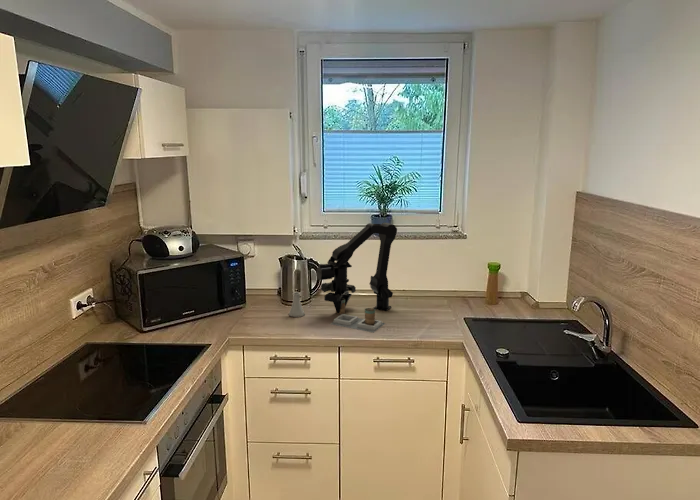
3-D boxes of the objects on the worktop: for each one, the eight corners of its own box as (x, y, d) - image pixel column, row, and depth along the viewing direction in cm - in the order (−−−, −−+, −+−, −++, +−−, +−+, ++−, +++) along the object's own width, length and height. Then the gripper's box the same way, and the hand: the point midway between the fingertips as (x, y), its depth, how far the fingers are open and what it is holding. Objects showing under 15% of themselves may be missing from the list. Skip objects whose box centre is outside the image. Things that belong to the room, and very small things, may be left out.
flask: (306, 312, 228) (306, 291, 226) (303, 317, 221) (303, 295, 219) (290, 311, 228) (290, 290, 226) (287, 317, 221) (286, 295, 219)
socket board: (343, 317, 221) (343, 312, 220) (385, 325, 212) (385, 319, 212) (329, 326, 210) (329, 320, 210) (373, 335, 202) (373, 329, 201)
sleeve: (338, 312, 228) (338, 297, 226) (346, 314, 226) (346, 299, 224) (333, 315, 224) (333, 300, 222) (342, 317, 222) (342, 301, 221)
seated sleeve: (367, 323, 211) (367, 307, 210) (376, 325, 210) (376, 308, 208) (362, 326, 208) (363, 310, 206) (372, 328, 206) (372, 311, 204)
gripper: (334, 270, 233) (334, 302, 236) (313, 280, 217) (313, 314, 220) (356, 273, 228) (355, 306, 231) (336, 283, 212) (336, 319, 215)
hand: (340, 311), depth 225 cm, fingers closed on sleeve, 4 cm apart
